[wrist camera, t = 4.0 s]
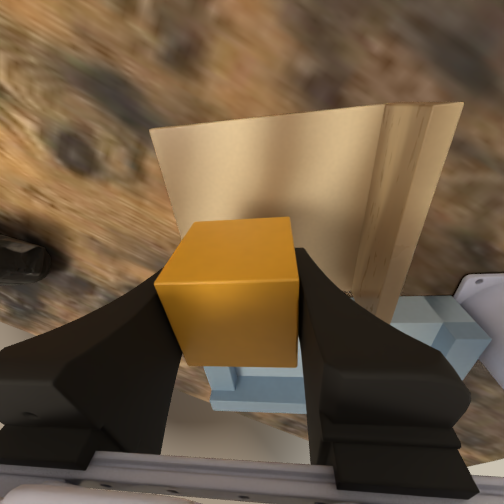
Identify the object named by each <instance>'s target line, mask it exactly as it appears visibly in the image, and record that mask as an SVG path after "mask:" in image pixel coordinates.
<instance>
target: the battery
mask: <svg viewBox="0 0 504 504" xmlns="http://www.w3.org/2000/svg"><path fill="white" fill-rule="evenodd" d="M50 266H51V256H50V255H48V253H47V251H46V249H45V247H42V246H38V245H35V244H32V243H28V242H25V241H22V240H18V239H15V238H12V237H8V236H5V235H1V234H0V286H1V285H21V284H31V283H35V282H37V281H39V280H42V279H43V278H45V277H46V276H47V274H48V273H49V271H50Z"/></svg>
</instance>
